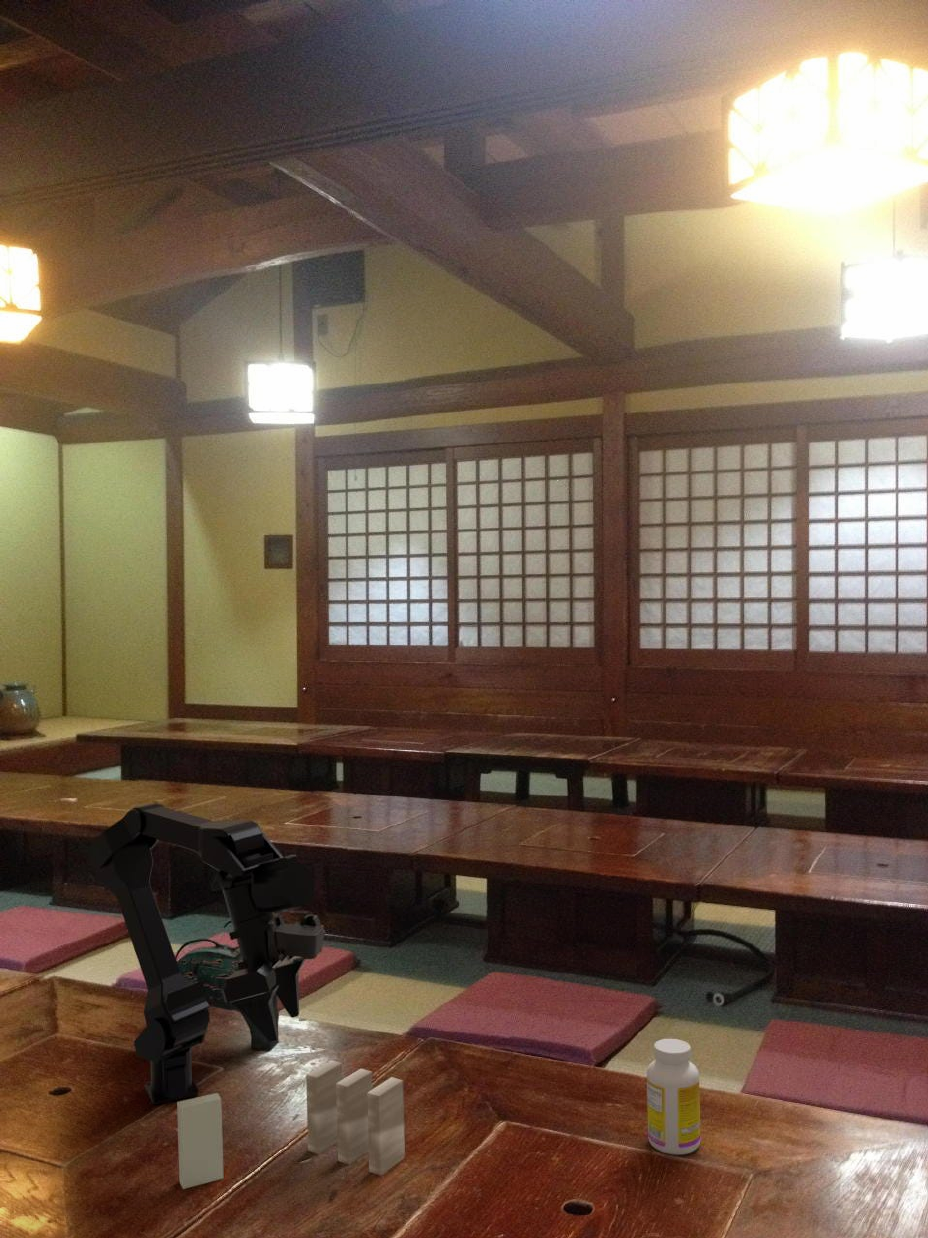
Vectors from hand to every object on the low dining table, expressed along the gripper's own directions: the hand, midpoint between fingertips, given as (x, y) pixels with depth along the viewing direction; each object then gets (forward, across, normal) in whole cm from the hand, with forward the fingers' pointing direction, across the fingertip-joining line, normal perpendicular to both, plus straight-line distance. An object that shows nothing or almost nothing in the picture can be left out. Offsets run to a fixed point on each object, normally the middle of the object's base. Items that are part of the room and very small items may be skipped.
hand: (284, 1028), depth 150 cm
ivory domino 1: (+15, -3, -2) cm, 15 cm away
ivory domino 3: (+18, -7, -11) cm, 22 cm away
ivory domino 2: (+16, -5, -7) cm, 18 cm away
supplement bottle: (+27, +2, -45) cm, 53 cm away
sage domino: (+12, -14, +10) cm, 21 cm away
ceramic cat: (+7, +26, +21) cm, 34 cm away
